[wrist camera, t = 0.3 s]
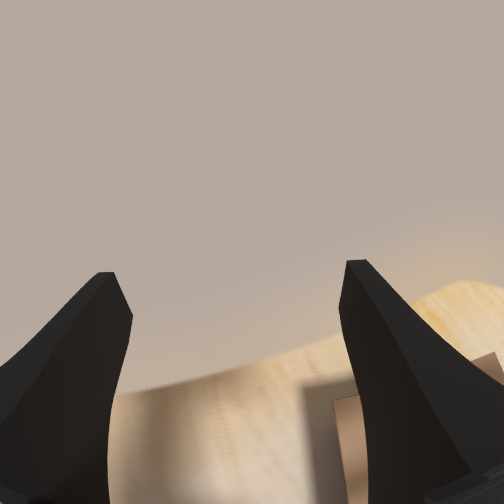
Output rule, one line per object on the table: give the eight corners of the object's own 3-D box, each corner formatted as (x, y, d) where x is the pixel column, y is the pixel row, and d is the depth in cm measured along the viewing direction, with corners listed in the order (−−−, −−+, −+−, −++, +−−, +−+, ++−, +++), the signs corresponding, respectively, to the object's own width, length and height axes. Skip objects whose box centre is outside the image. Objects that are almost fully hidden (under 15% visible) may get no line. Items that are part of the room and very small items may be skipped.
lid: (535, 500, 8) (567, 489, 5) (355, 581, 9) (364, 595, 7) (490, 356, 20) (511, 327, 17) (332, 403, 21) (335, 381, 18)
